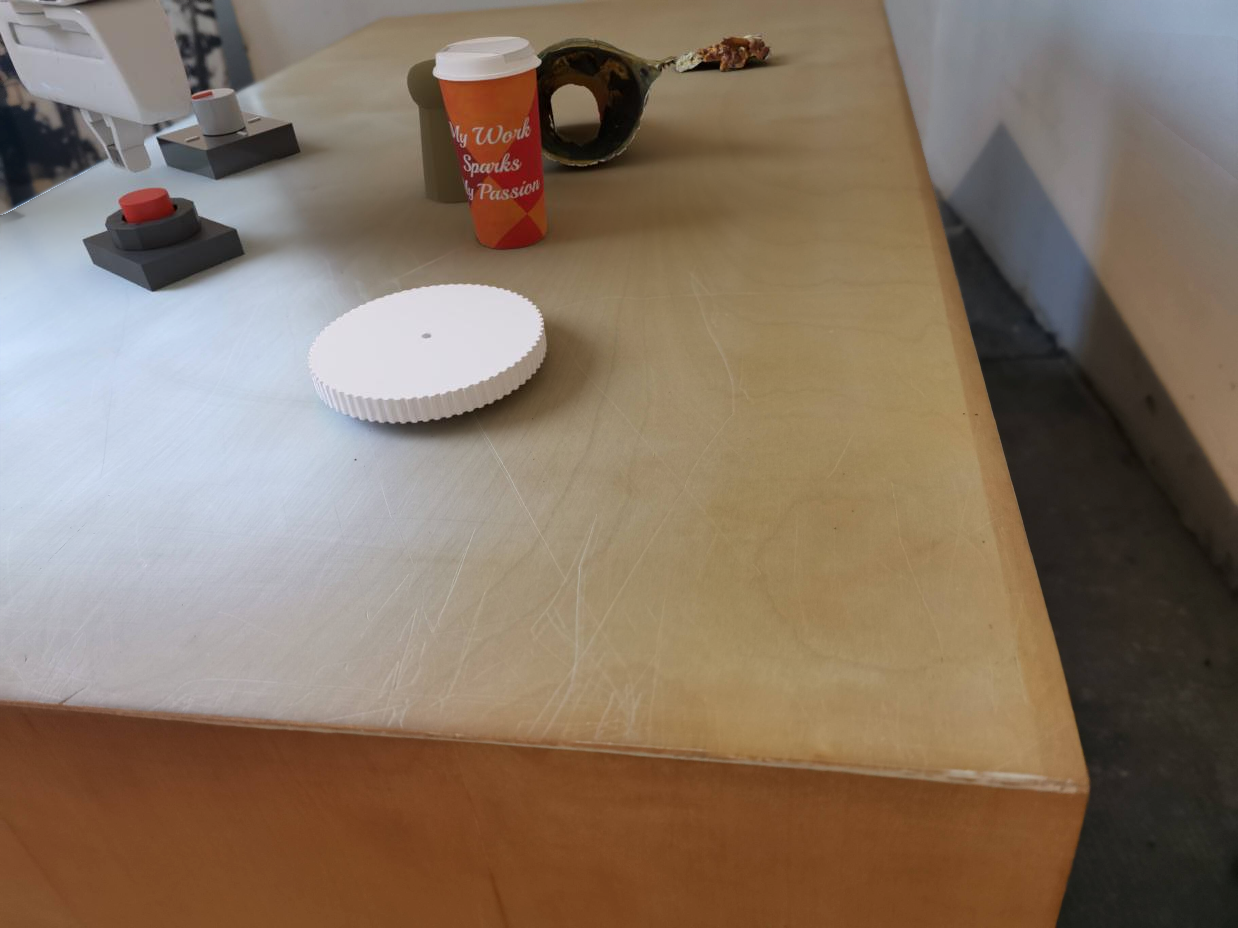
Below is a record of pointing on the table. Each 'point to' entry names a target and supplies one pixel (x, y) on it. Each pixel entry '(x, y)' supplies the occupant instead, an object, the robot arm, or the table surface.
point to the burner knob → (217, 111)
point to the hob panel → (229, 147)
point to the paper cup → (496, 136)
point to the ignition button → (146, 205)
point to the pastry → (727, 53)
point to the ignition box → (163, 246)
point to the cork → (435, 137)
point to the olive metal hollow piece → (595, 95)
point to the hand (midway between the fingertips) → (133, 168)
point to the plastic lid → (427, 353)
